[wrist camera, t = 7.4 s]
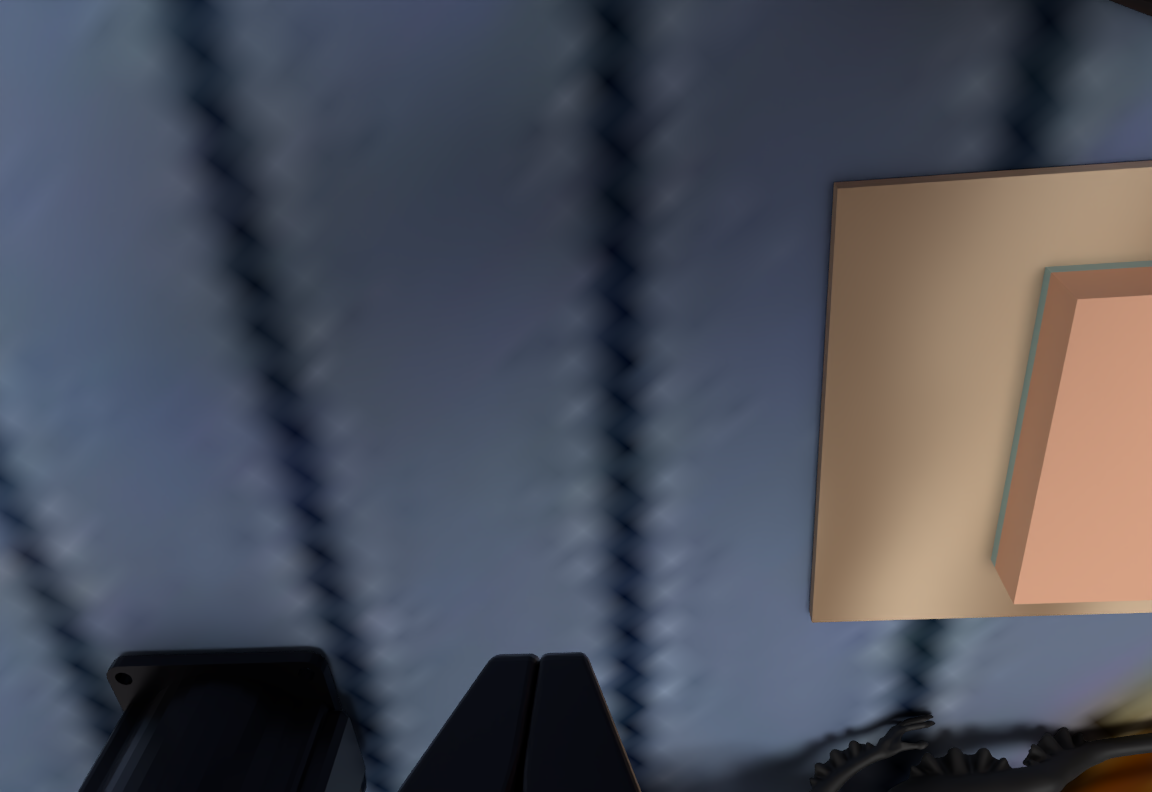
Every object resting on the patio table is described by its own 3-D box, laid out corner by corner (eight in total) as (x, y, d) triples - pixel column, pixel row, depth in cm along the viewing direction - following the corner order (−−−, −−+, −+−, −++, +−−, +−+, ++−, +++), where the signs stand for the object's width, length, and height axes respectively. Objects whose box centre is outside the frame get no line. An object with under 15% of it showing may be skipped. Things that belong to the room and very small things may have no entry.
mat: (809, 611, 25) (811, 622, 25) (833, 182, 19) (837, 188, 19) (1358, 594, 24) (1368, 605, 23) (1574, 130, 18) (1592, 136, 17)
